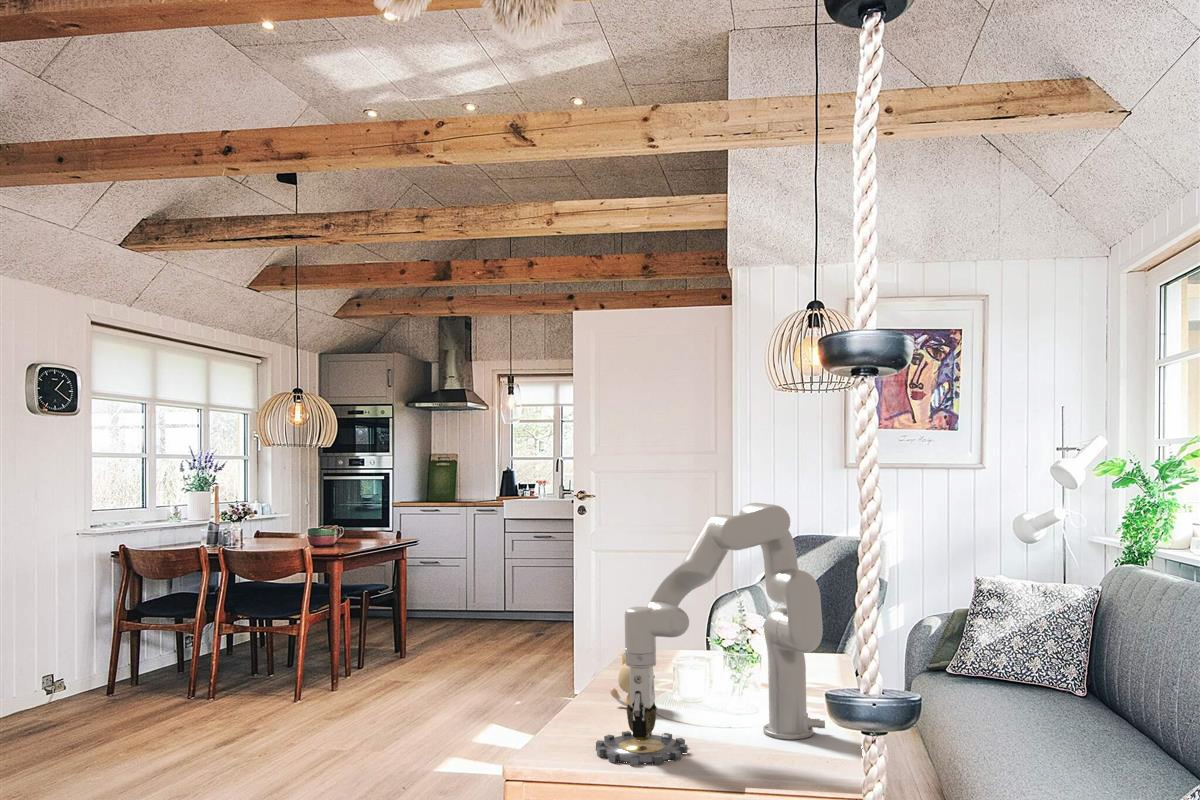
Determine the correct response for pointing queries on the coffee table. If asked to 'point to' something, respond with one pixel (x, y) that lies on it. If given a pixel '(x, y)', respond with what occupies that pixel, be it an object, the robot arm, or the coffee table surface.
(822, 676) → the coffee table surface
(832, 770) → the coffee table surface
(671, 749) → the gear
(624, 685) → the kitten
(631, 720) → the cup
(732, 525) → the robot arm
